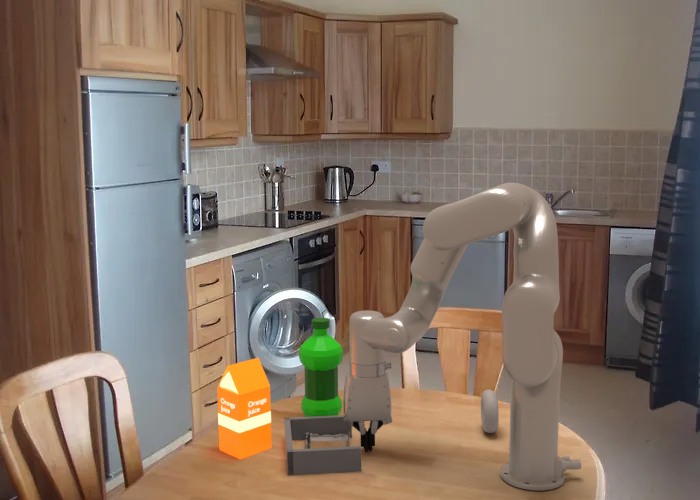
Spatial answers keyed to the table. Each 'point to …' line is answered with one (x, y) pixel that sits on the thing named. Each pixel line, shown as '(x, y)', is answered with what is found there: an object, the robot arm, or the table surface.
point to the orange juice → (244, 410)
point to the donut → (489, 411)
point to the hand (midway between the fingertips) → (367, 449)
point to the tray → (319, 457)
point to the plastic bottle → (321, 371)
